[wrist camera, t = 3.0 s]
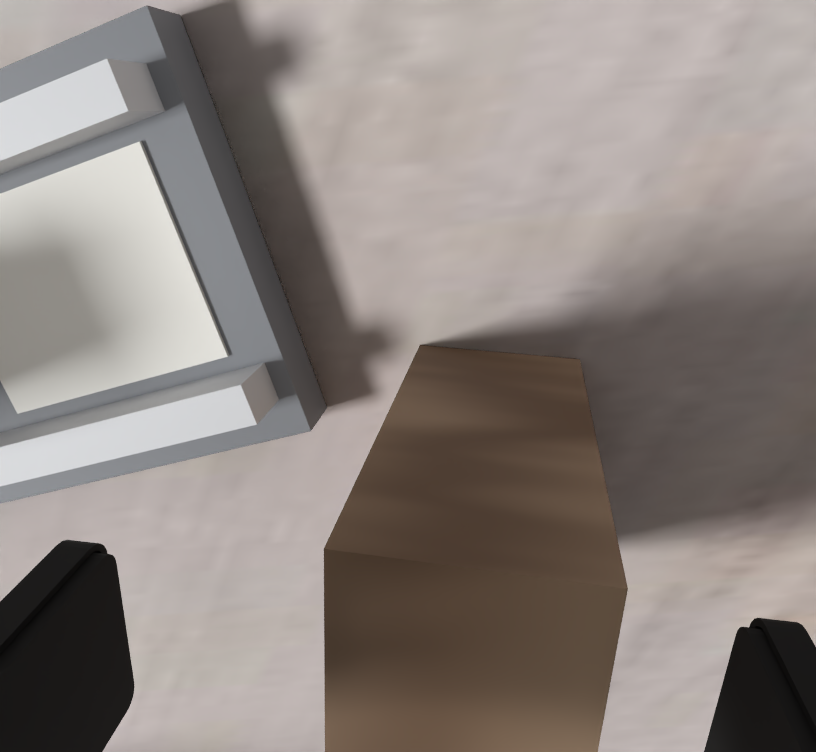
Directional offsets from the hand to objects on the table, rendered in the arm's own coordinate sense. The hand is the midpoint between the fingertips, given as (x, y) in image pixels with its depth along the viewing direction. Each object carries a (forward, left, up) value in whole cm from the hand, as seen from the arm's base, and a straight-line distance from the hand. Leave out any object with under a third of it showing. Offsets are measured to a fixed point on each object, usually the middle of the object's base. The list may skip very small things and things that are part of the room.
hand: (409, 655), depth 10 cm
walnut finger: (-1, +1, -9) cm, 9 cm away
